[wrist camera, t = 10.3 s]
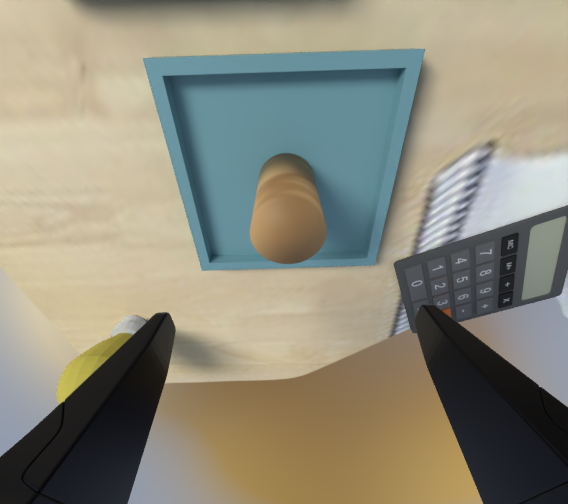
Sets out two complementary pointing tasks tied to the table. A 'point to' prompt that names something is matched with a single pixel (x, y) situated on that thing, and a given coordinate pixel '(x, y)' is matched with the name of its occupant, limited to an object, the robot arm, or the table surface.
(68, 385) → the light bulb
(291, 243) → the wooden peg
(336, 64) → the tray
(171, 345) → the robot arm
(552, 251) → the calculator
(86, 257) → the table surface
